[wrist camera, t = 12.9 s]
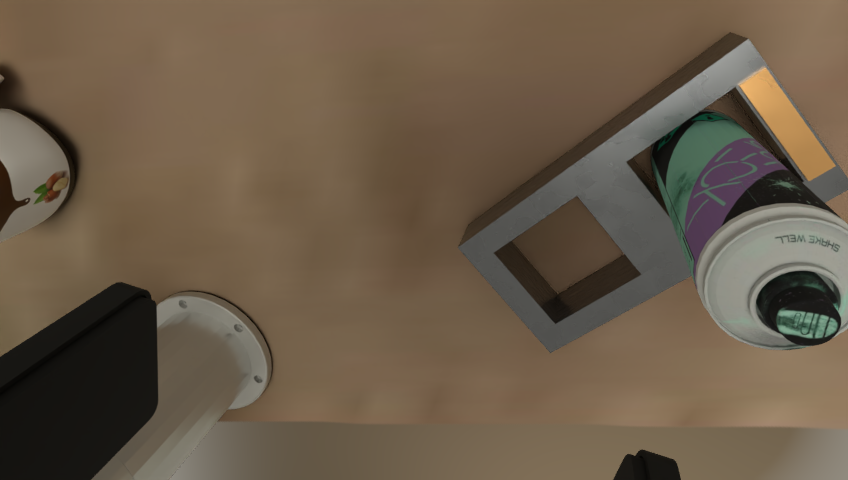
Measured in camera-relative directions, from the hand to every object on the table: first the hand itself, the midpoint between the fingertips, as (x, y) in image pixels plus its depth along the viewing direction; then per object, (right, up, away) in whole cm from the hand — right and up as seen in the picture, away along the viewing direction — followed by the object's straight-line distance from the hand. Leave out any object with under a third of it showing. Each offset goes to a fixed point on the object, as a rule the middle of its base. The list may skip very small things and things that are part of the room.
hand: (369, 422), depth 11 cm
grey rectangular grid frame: (+15, +6, +27) cm, 31 cm away
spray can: (+18, +9, +25) cm, 32 cm away
